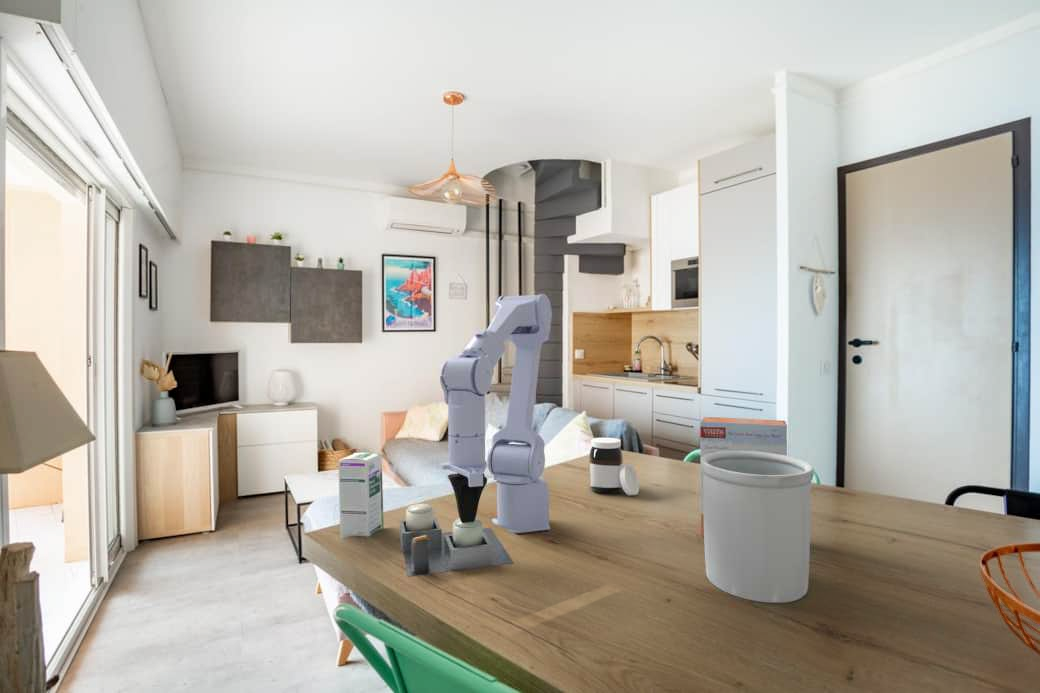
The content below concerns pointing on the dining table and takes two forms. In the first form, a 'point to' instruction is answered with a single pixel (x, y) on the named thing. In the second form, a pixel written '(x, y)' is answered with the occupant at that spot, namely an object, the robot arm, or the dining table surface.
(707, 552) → the utensil holder
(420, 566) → the dial post
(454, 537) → the knob sage
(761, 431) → the cracker box
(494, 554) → the mount panel
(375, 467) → the syrup box
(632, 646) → the dining table surface
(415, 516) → the knob cream
